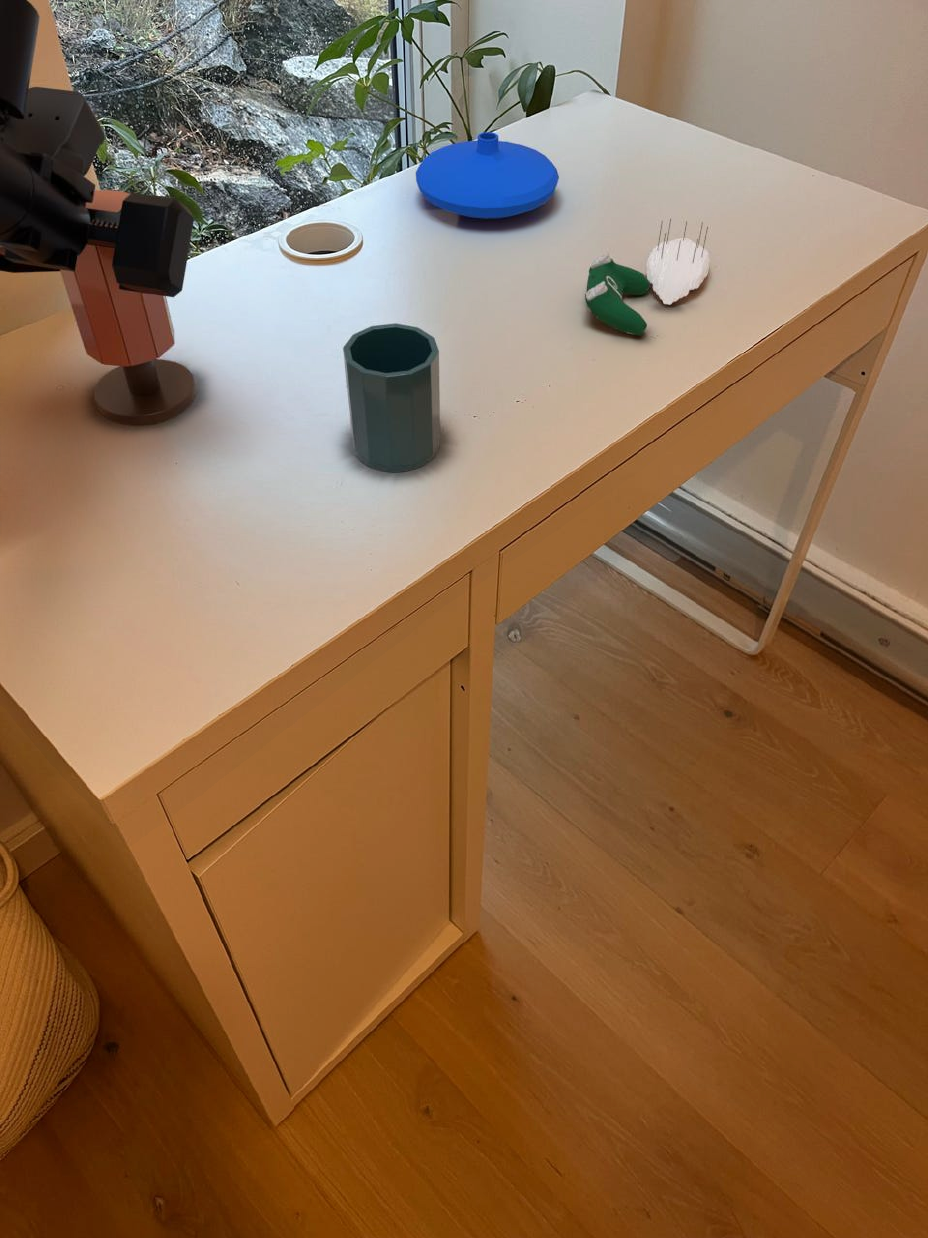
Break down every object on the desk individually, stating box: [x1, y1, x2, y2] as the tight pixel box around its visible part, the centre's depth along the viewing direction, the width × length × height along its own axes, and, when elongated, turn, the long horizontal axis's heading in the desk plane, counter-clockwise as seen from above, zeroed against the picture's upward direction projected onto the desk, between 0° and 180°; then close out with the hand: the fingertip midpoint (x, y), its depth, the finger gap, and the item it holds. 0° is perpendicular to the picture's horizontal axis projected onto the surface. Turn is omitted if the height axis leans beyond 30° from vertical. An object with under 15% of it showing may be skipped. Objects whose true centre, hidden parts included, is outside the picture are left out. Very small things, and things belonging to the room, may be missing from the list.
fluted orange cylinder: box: [59, 189, 175, 367], centre depth 76 cm, size 7×7×11 cm
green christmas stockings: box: [584, 252, 651, 337], centre depth 92 cm, size 9×4×6 cm
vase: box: [415, 131, 560, 220], centre depth 106 cm, size 16×16×7 cm
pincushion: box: [645, 218, 711, 306], centre depth 96 cm, size 12×6×6 cm, turn 163°
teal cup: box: [342, 322, 441, 473], centre depth 76 cm, size 7×7×9 cm
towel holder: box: [93, 358, 197, 426], centre depth 82 cm, size 8×8×6 cm
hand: (122, 269), depth 77 cm, fingers closed on fluted orange cylinder, 7 cm apart
